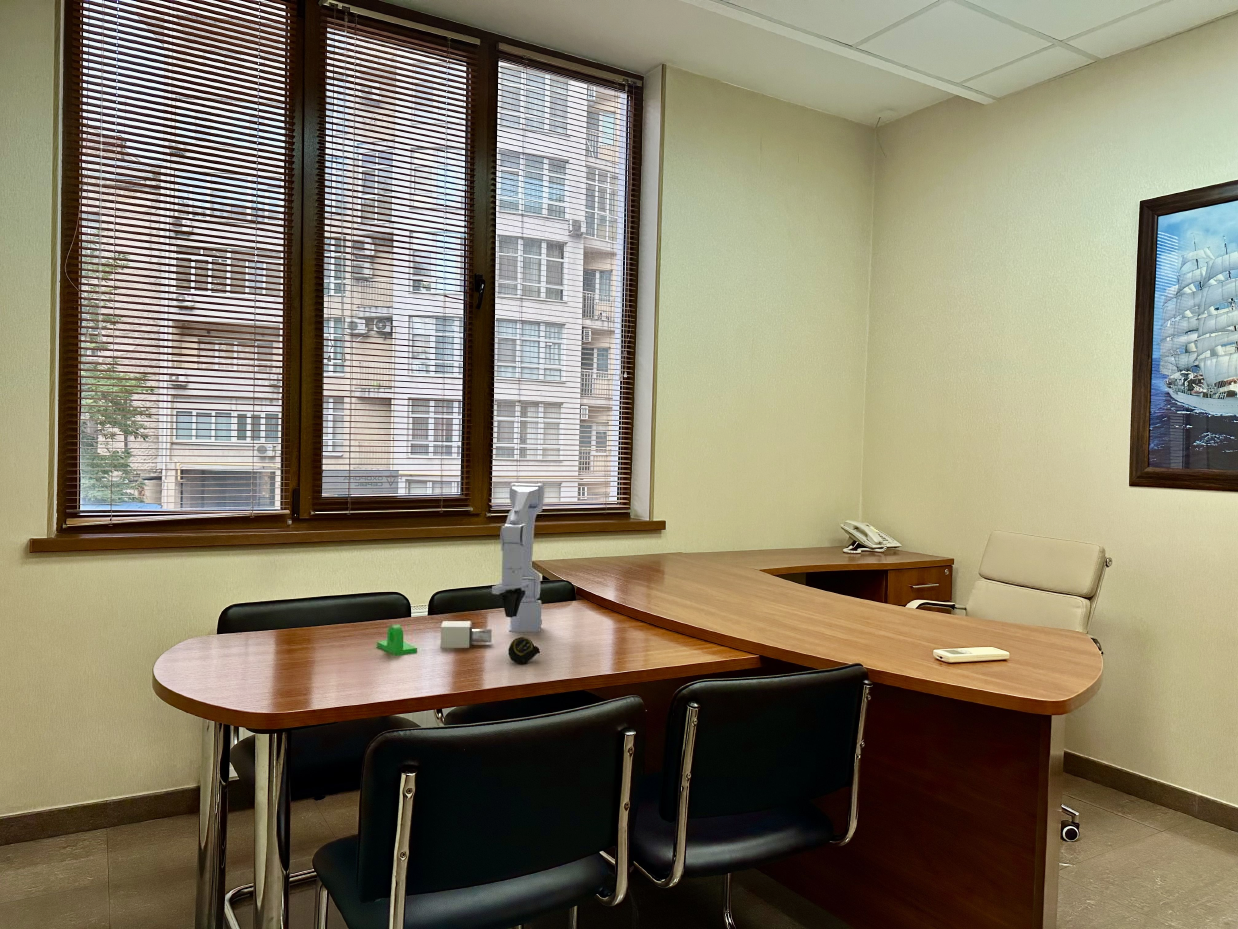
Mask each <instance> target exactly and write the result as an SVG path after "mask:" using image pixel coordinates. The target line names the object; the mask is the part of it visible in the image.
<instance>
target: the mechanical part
mask: <svg viewBox="0 0 1238 929" xmlns="http://www.w3.org/2000/svg"><path fill="white" fill-rule="evenodd" d="M386 635H387V636H386V638H387V639H386V640H381V641H376V647H377V648H379V649H381V650H383V651H385V652H387V653H390V654H392V655H394V656H400V655H409V654H415V653H418V647H416V646H414V645H411V644H410V643H408V642H405V641H404V630H403V628H402V626H401V625H400V624H395V625H390V626H389V627H388V629H387V634H386Z"/></svg>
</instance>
